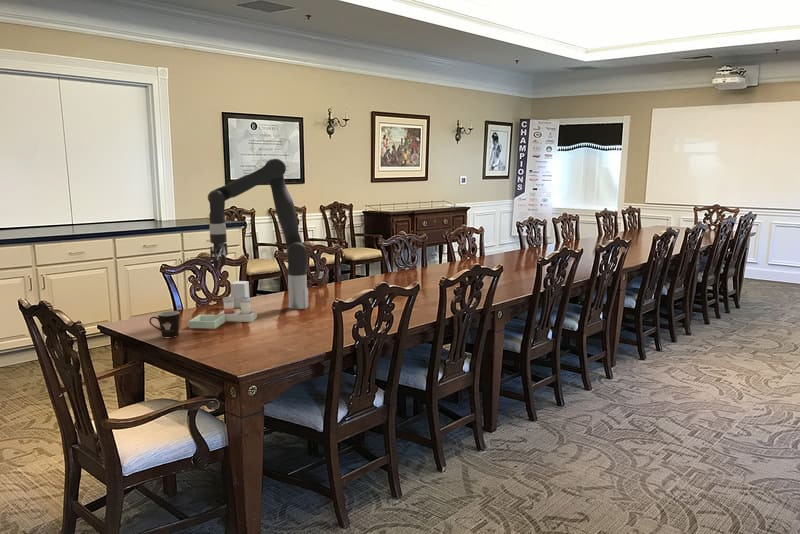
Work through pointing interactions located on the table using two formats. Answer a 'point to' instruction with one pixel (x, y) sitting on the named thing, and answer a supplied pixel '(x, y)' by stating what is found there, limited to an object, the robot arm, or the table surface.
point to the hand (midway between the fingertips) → (219, 266)
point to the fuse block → (240, 316)
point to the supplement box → (239, 291)
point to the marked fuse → (228, 305)
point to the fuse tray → (207, 321)
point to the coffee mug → (168, 323)
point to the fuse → (245, 305)
